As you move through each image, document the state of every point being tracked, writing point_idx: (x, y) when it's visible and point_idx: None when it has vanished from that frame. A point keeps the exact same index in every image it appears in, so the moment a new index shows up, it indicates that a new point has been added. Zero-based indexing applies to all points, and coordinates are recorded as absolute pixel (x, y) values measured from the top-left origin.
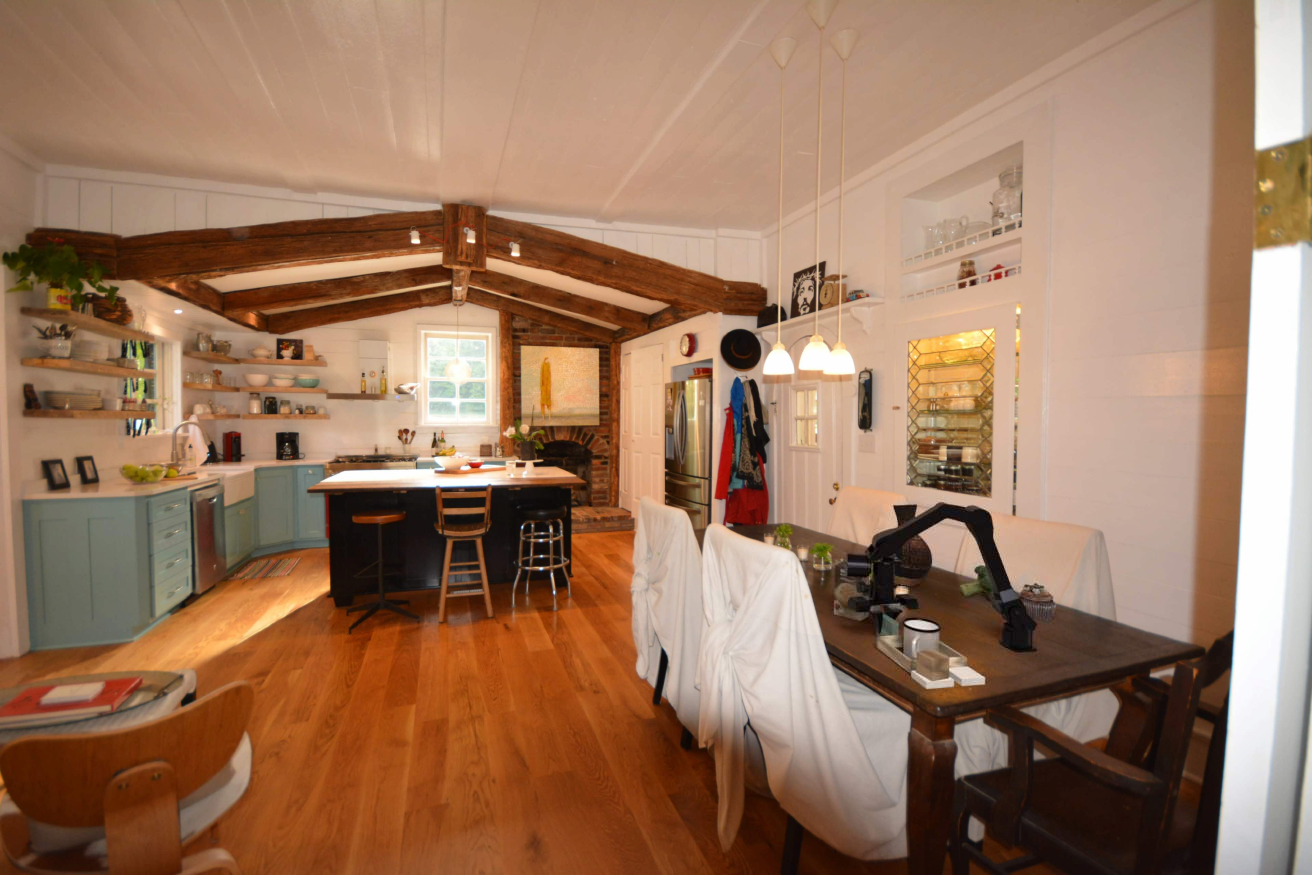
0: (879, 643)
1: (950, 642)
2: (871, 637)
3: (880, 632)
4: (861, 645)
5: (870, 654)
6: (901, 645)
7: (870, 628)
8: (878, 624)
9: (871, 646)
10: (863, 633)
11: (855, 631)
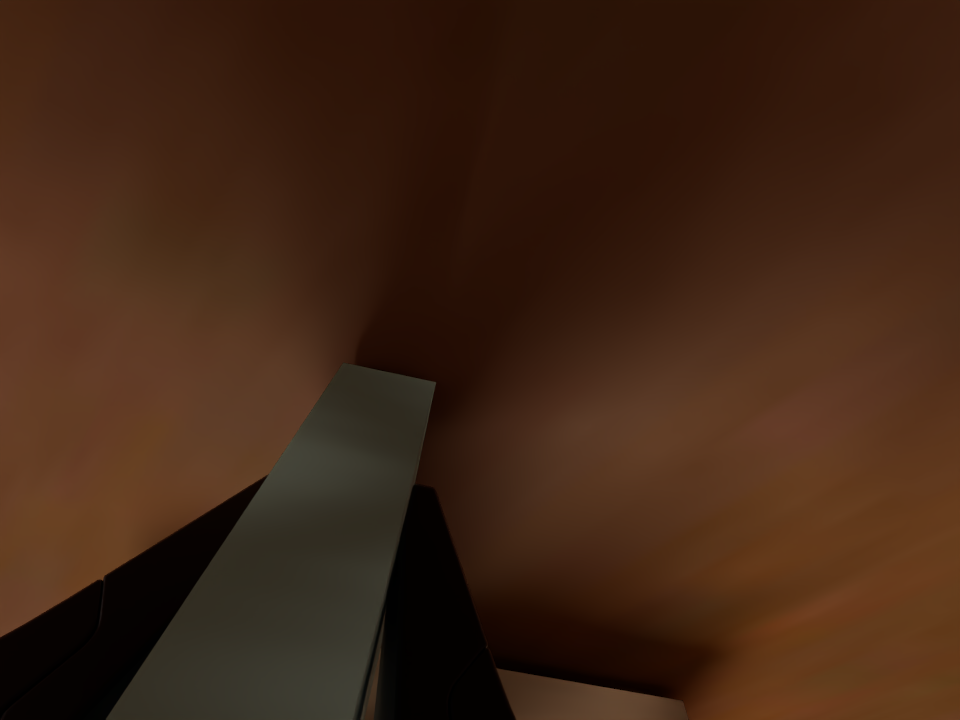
0: None
1: (930, 717)
2: (248, 379)
3: None
4: (12, 502)
5: None
6: None
7: (466, 61)
8: None
9: (118, 551)
10: (205, 218)
11: (102, 82)
